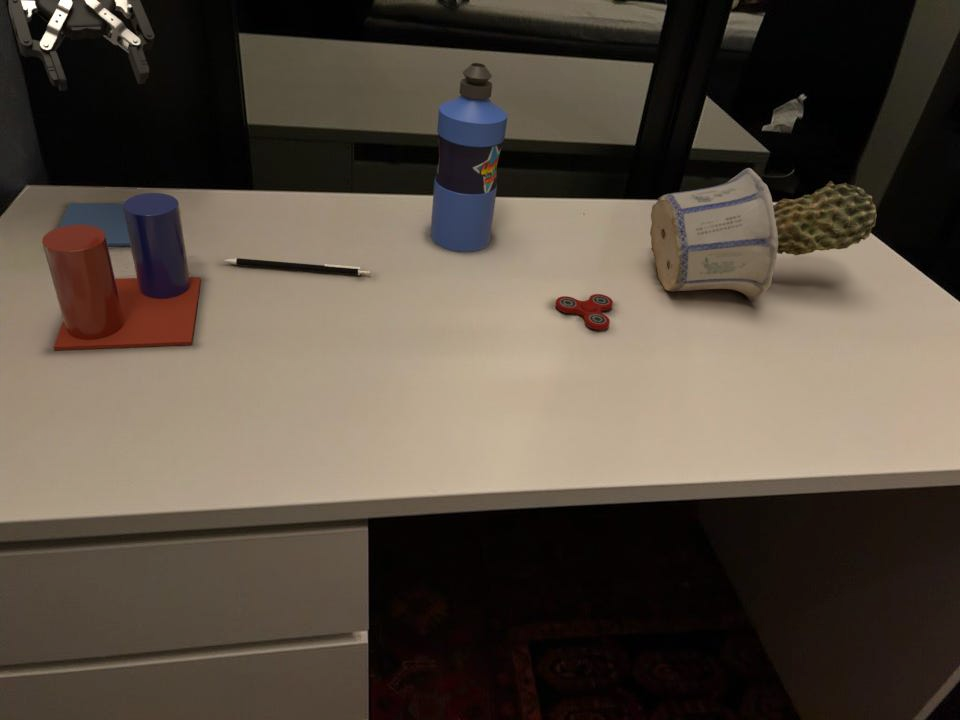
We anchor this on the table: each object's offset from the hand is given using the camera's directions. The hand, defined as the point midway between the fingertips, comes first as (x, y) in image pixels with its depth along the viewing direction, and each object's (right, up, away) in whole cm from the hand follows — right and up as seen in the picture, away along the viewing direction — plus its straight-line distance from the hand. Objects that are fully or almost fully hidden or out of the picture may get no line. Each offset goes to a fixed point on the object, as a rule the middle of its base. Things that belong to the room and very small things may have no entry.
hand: (104, 84), depth 85 cm
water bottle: (+41, -14, +26) cm, 50 cm away
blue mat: (-8, -13, +17) cm, 23 cm away
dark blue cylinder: (+5, -23, +6) cm, 24 cm away
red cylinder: (0, -28, -2) cm, 28 cm away
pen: (+19, -20, +13) cm, 31 cm away
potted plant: (+82, -22, +23) cm, 88 cm away
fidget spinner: (+58, -26, +12) cm, 65 cm away
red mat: (+3, -26, +1) cm, 27 cm away
